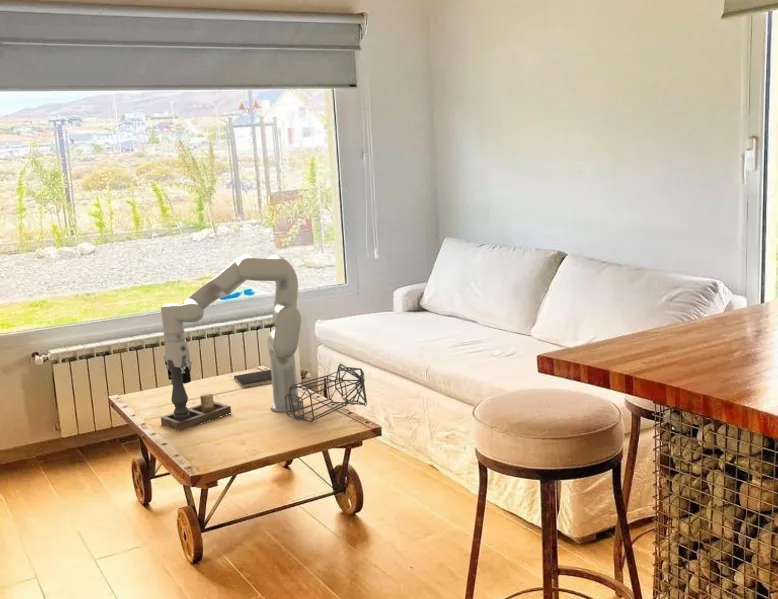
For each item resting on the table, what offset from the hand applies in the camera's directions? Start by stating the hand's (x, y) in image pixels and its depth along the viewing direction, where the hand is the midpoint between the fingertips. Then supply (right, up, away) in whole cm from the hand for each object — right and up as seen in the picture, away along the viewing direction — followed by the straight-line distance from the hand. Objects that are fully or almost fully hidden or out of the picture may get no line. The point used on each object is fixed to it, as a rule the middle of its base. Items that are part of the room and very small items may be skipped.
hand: (179, 380), depth 326 cm
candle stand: (+5, -15, +7) cm, 18 cm away
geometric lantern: (+42, -9, -7) cm, 43 cm away
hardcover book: (+24, -5, +56) cm, 61 cm away
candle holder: (0, -17, +4) cm, 17 cm away
